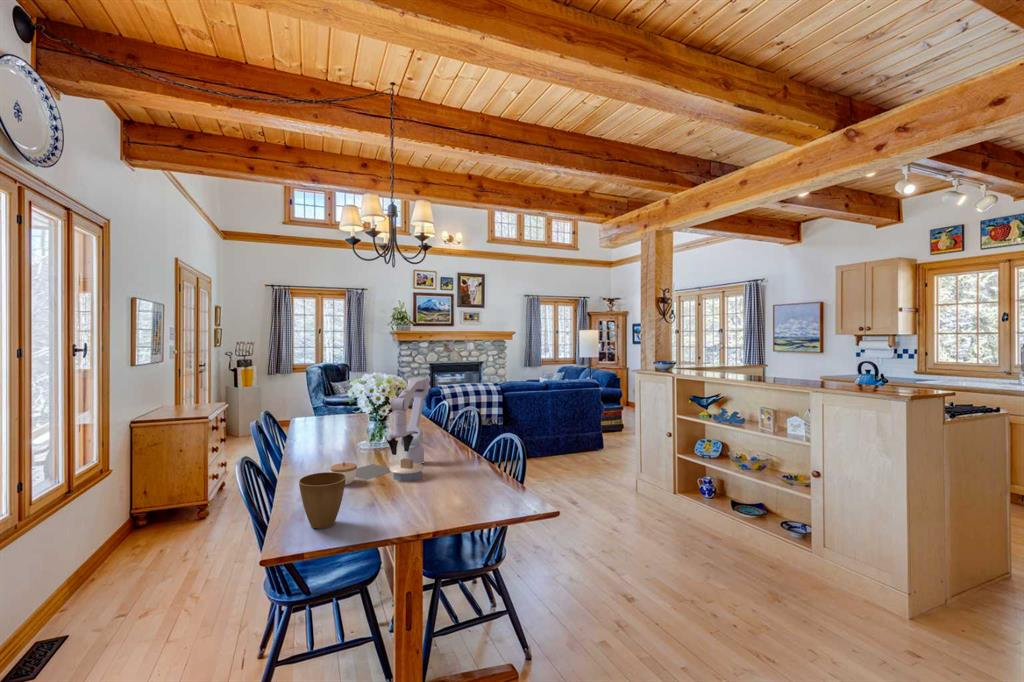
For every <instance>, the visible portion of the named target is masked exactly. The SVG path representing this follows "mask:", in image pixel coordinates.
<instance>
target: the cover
mask: <svg viewBox="0 0 1024 682" xmlns="http://www.w3.org/2000/svg"><path fill="white" fill-rule="evenodd" d="M389 468H390V473H392V474H394V473H397V474H410V473H416V472H419V471H423V470H424V469H425V467H424V464H416V463H413V460H411V459H404V458H402V459H400V463H399V464H395V465H392V466H390V467H389Z"/></svg>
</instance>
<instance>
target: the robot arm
mask: <svg viewBox="0 0 1024 682" xmlns="http://www.w3.org/2000/svg"><path fill="white" fill-rule="evenodd" d="M429 390H430V379H429V378H428V377H414V376H413V377H412V376H410V377H409V378H408V380H407V387H406V388H405V389H403V390H402V391H401V392H400V394H399V395H398V396H397V397H395V398H393V399H392V402H391V409H392V414H393V432H392V433H391V434H388V435H386V443H387V444H388V445H389V448H390V451H391V455H392V456H393V455H394V456H396V455H397V450H398V443H400V444H401V446H402V448H403V451H404V453H403V454H404V456H403V457H404V458H403V459H411V460H413V463H416V464H419V463H420V464H421V465H423V464H422V462H425V450H424V447H423V446H422V445H423V441H424V432H423V431H422V429H421V428H419V427H420V423H421V417H422V411H423V408H424V407H423V406H424V401H425V397H426V396H428V395H429ZM413 397H414V398H413ZM412 399H413V404H412V408H411V413H410V418H409V423H408V422H407V418H408V417H407V410H408V409H409V405H410V402H411V400H412ZM407 423H408V426H407ZM399 438H400V441H399V440H398V439H399Z"/></svg>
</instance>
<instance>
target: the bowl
mask: <svg viewBox="0 0 1024 682" xmlns="http://www.w3.org/2000/svg"><path fill="white" fill-rule="evenodd" d="M422 471H423V470H422ZM422 471H419V472H416V473H410V474H397V473H393V480H395V481H398V482H400V481H401V482H400V483H406V482H405V481H410V482H415V481H414V480H416V481H418V480H417V479H419V478H421V479H422V477H423V476H422V475H423V474H422V473H423V472H422ZM419 480H420V479H419Z"/></svg>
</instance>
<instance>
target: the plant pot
mask: <svg viewBox="0 0 1024 682" xmlns="http://www.w3.org/2000/svg"><path fill="white" fill-rule="evenodd" d="M345 481H346V476H345V475H344V474H342V473H336V472H331V471H329V472H328V471H326V472H316V473H311V474H308V475H305V476H302V477H301V478H300V479H299V480H298V486H299V491H300V495H301V496H300V497H301V502H302V505H303V508H304V511H305V514H306V518H307V520H308V524H309V525H310V527H311V528H312V527H313V528H312V529H314V528H324V529H328V528H331V527H332V526H334V525H335V523H336V520H337V517H338V514H339V512H340V509H341V505H342V500H343V496H344V492H345V486H346V485H345ZM330 526H331V527H330ZM327 527H328V528H327Z"/></svg>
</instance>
